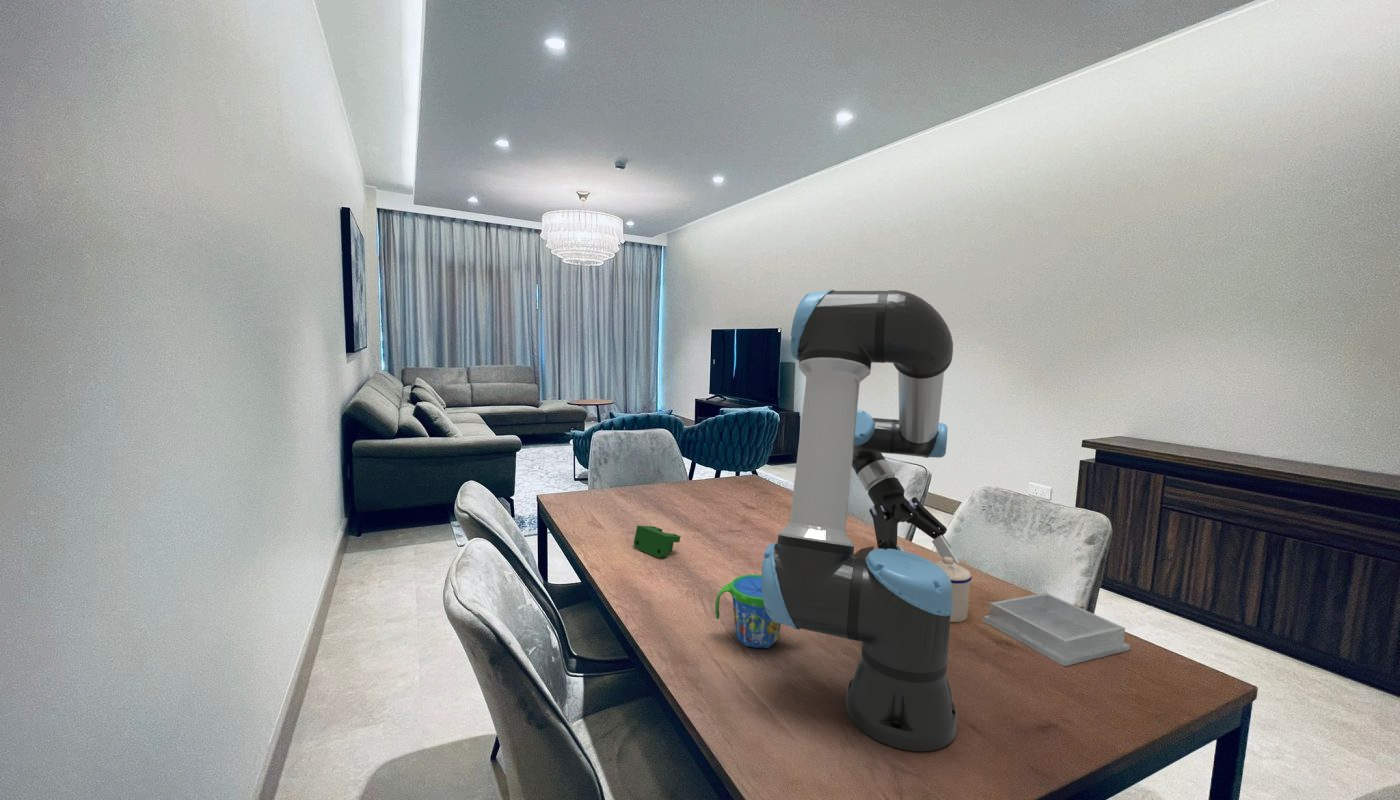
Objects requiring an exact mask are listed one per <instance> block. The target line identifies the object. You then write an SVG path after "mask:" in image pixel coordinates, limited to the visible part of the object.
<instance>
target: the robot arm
mask: <svg viewBox="0 0 1400 800" xmlns="http://www.w3.org/2000/svg"><path fill="white" fill-rule="evenodd" d="M790 337H791V338H790V343H789V344H790V345H789V347H790V354H791V357H793V359H794V360H797V361H798V369H799V371H800V372H801V373H802V374H803V375H804V376H805V387H804V395H803V404H802V413H801V422H800V430H799V431H800V432H799V439H798V447H797V457H796V466H795V475H794V481H793V482H794V483H793V491H792V499H791V507H790V509H791V510H790V518H789V523H788V525H786V526H785V527H783V528H782V530H780V531H779V532H778V535H777V541H776V542H777V543H776V542H773V543H770V544H768V545H767V547H766V548H765V550H764V555H763V560H762V565H761V566H762V567H761V575H762V595H763V602H764V606H765V609H766V612H767V614H768V616H769V617H770V618H771V619H772V620H773V621H775V622H777V623H780V624H781V625H784V626H788V627H791V628H793V629H794V630H797V631H798V630H804V631H810V632H815V633H818V634H824V635H827V636H833V637H836V638H842V639H847V640H851V641H856V642H860V643H861V654H860V659H859V660H858V663H857V665H856V669H855V671H854V675H853V677H852V678H851V680H850V682H849V683H848V686H847V690H846V699H845V707H846V708H845V709H846V712H847V714H848V716H849V718H850V720H851V721H852V722H853V724H854V725H855V726H856V727H857V728H858V729H859V730H860V731H861V732H863V733H864V734H866V735H867V736H869V737H870V738H872V739H873V740H876V741H877V742H880V743H881V744H884V745H887V746H890V747H893V748H896V749H900V750H906V751H911V752H930V751H932V752H933V751H936V750H937V751H938V750H939V749H943V748H945V747H946V746H948V745H950V744H951V743H952V742H953V740H954V739H955V737H956V735H957V734H956V732H957V722H958V714H957V710H956V707H955V704H954V700H953V695H952V691H951V687H950V683H949V679H948V676H947V675H948V674H947V671H948V669H947V668H948V658H949V657H948V655H949V645H950V644H949V641H950V627H951V626H950V625H951V622H950V615H951V614H952V612H953V605H952V584H951V580H950V578H949V577H948V575H947V574H946V573H945V571H944V570H942V569H941V568H940V567H939V566H937V565H936V564H934V563H933V562H934V561H931V560H929V559H927V558H925V557H922V556H920V555H917V554H915V553H912V552H909V551H905V550H904V547H903V546H902V544H898V529H899V528H898V525H899V524H900V523H907V524H912V525H913V526H914V527H916V528H917V529H918V530H920V531H921V532H922V533H924V534H926V535H927V536H929V537H930V538H931V539H932V541H931V543H932V544H933V545H934V547H935V549H936V550H937V552H938V554H939V556H940V557H941V560H943V557H951V558H952V559H953V562H954V563H956V564H958V565H959V564H960V561H959V560H958V558H957V555H955V553H954V552H953V550H952V547H951V545H950V544H949V543H948V541H947V539H946V538H945V536H944V535H945V534H947V531H948V528H947V527H946V526H945V525H944V524H943V523H942V522H941V521H940V520H938V518H936V517H935V516H934V515H933V514H932V513H931V512H930V511H928V509H927V508H925V506H923V504H922V503H921V502H920V501H919V500H918V498H917V497H916V496H914V497H912V498H911V499H910V500H908V499H907V498H906V497H905V492H906V491H905V488H904V487H903V485H902V483H901V482H900V480H899V478H898V477H896V473H895V472H894V470H893V469H892V467H891V466H890V464H889V462H888V461H887V460H886V458H885V457H884V455H883V454H890V455H891V454H892V455H901V456H902V455H903V456H911V457H921V458H926V459H927V458H934V459H935V458H937V459H938V458H939V459H940V458H943V457H945V456H946V453H947V444H948V443H947V442H948V425H947V424H945V423H943V422H940V415H941V413H940V412H941V405H942V398H943V397H942V396H943V395H942V394H943V385H944V376H945V372H946V371H947V369H948V368H950V366H951V363H952V360H953V353H954V342H953V336H952V334H951V330H950V328H949V326H948V325H947V323H946V321H945V319H944V318H943V317H942V315H941V314H940V313H939V311H938V310H937V309H935V308H934V306H933V305H931V304H930V303H928V302H927V301H926V300H925V299H923V298H921V297H920V296H918V295H916V294H913V293H911V292H908V291H904V290H895V289H894V290H892V289H890V290H889V289H888V290H834V289H829V290H825V291H823V290H822V291H812V292H808V293H807V294H805V295H804V296H803V297H802V298H801V300H800V301H799V303H798V305H797V307H796V310H795V312H794V316H793V319H792V323H791V330H790ZM873 363H876V364H877V363H878V364H879V363H880V364H881V363H882V364H885V363H887V364H889V363H890V364H893V366H894V368H895V370H896V371H897V374H898V375H897V376H898V378H897V379H898V383H897V384H898V419H892V418H881V417H872V416H871V415H870V413H868V412H866V411H865V410H861V409H858V405H859V403H858V402H859V393H860V383H861V382H863V381H864V380H865V379H866V378H867V377H868V376H870V374H871V371H872V364H873ZM852 469H853V471H854V472H855V474H856V476H857V477H858V480H859V481H860V482H861V484H862V486H863V487H864V490H865V491H866V492H867V496H868V497H869V498H870V501H871V502H872V503H873V506H872V507H871V508H869V509H868V511H869V513H870V516H871V518H872V521H873V527H874V533H875V539H876V546H877V548H875V549H874V550H872V551H870V552H869V554H868V555H867V557H866V559H862V558H856V557H854V554H855V543H854V542H853V540H852V539H851V538H850V537H849V535H848V534H847V519H848V509H849V497H850V489H851V476H852Z"/></svg>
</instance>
